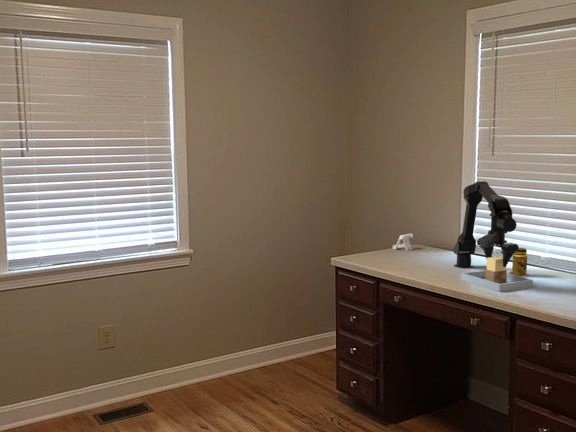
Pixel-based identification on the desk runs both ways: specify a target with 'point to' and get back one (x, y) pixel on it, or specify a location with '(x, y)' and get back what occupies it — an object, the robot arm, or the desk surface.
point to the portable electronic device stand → (406, 242)
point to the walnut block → (496, 276)
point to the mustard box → (495, 264)
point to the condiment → (519, 263)
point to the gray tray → (514, 283)
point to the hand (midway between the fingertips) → (496, 264)
